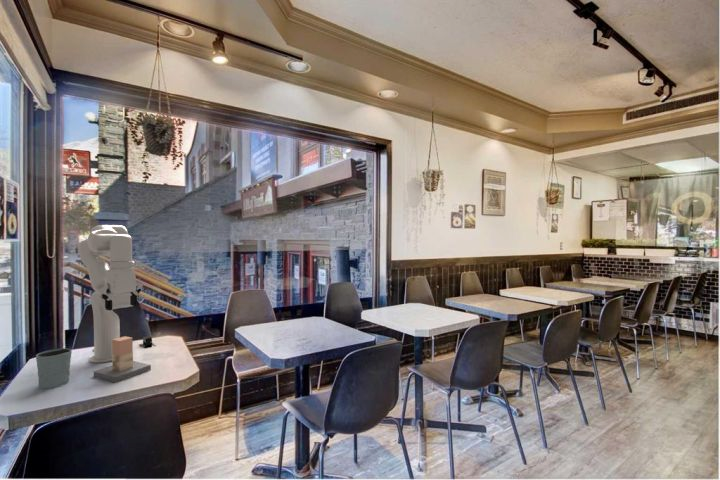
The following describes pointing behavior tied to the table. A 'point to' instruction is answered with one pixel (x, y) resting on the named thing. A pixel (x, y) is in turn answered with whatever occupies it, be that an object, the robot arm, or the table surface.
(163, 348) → the table surface
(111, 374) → the baseplate
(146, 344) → the black frame block
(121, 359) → the maple block
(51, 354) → the green cup
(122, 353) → the terracotta block
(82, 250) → the robot arm
